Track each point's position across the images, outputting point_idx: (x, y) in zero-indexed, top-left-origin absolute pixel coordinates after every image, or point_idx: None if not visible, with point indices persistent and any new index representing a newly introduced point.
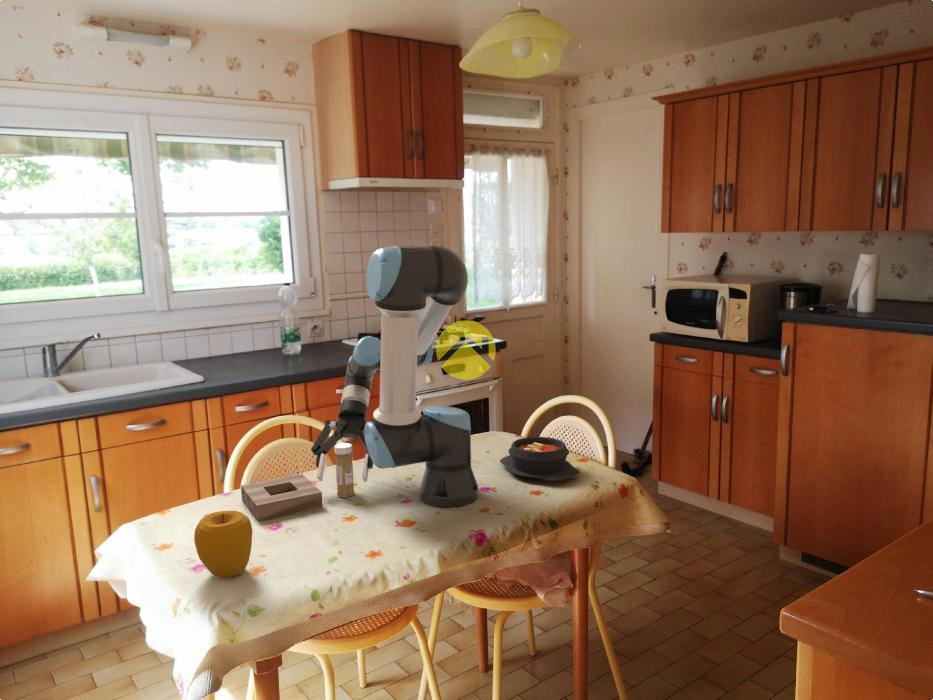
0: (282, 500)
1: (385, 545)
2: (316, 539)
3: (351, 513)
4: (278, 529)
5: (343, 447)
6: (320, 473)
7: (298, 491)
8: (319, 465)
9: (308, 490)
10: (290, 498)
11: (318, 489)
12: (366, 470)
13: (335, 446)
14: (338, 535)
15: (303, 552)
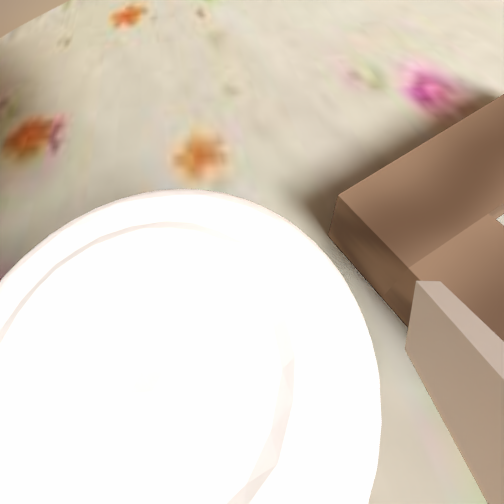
0: (490, 103)
1: (102, 42)
2: (271, 46)
3: (199, 189)
4: (409, 77)
5: (130, 201)
6: (426, 300)
7: (475, 194)
8: (490, 336)
9: (423, 210)
10: (462, 119)
11: (370, 224)
12: None
13: (327, 275)
14: (217, 67)
15: (283, 3)
